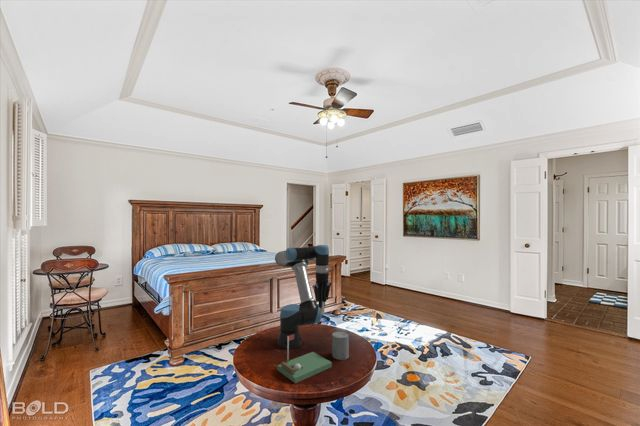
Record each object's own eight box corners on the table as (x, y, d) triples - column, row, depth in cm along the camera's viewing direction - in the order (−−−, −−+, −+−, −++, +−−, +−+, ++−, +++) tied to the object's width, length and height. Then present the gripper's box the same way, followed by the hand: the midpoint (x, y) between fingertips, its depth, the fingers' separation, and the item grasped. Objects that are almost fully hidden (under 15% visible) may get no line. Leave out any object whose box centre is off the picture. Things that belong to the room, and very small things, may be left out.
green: (277, 370, 159) (277, 338, 159) (312, 355, 175) (313, 327, 175) (295, 383, 147) (295, 349, 147) (331, 366, 163) (331, 336, 163)
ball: (293, 361, 158) (299, 362, 161) (291, 370, 157) (296, 370, 160) (297, 364, 155) (303, 365, 158) (295, 372, 154) (301, 373, 157)
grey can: (347, 360, 170) (348, 338, 170) (330, 358, 172) (331, 337, 172) (349, 352, 179) (349, 331, 179) (333, 351, 181) (333, 330, 181)
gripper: (317, 274, 169) (317, 317, 169) (334, 271, 177) (334, 312, 178) (309, 272, 175) (309, 313, 175) (326, 269, 183) (326, 308, 183)
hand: (321, 312), depth 176 cm, fingers closed
